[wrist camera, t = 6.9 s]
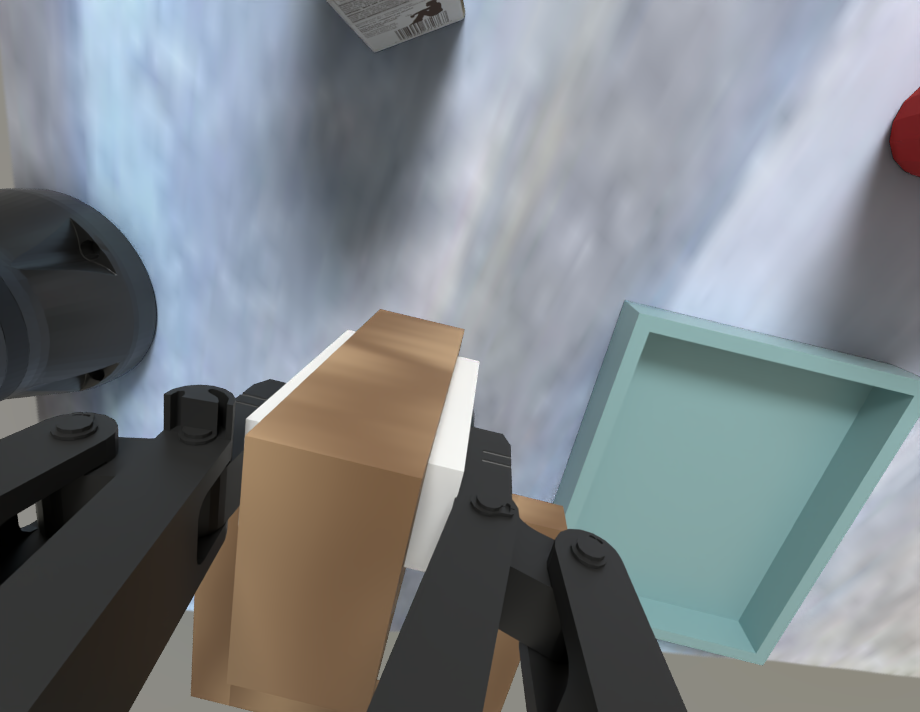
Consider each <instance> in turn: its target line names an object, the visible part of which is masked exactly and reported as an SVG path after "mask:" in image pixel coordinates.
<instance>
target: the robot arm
mask: <svg viewBox="0 0 920 712" xmlns="http://www.w3.org/2000/svg"><path fill="white" fill-rule="evenodd" d="M155 325H156V304H155V297H154V292H153V288H152V285H151V282H150V279H149V276H148V274H147V271H146V269H145V267H144V265H143V263H142V261H141V259H140V257H139V256H138V254H137V252H136V251H135V249H134V248H133V246H132V245H131V244H130V242H129V241H128V240H127V238H126V237H125V236H124V235H123V234H122V233H121V232H120V230H119V229H118V228H117V227H116V226H115V225H114V224H113V223H111V222H110V221H109V220H108V219H107V218H106V217H104V216H103V215H102V214H101V213H99V212H98V211H96V210H95V209H94V208H92V207H90V206H89V205H87V204H85V203H84V202H82V201H80V200H78V199H75V198H73V197H71V196H68V195H65V194H63V193H59V192H55V191H50V190H44V189H0V401H2V400H4V399H11V398H21V397H30V396H40V395H49V394H59V393H68V392H77V391H83V390H87V389H91V388H95V387H98V386H100V385H102V384H105V383H107V382H109V381H111V380H113V379H115V378H118V377H120V376H122V375H124V374H125V373H127V372H129V371H130V370H132V369H133V368H134V367H135V366H136V365H137V364H138V363H139V362H140V361H141V360H142V359H143V357H144V356H145V354H146V353H147V351H148V349H149V347H150V345H151V342H152V339H153V336H154V332H155ZM354 333H355V331H351V330H347V331H346V332H345V333H344V334H342V335H341V336H340V337H339V338H338V339H337V340H336V341H334V342H333V343H332V344H331V345H330V346H329V347H327V348H326V349H325V350H324V351H323V352H322V353H321V354H319V355H318V356H317V357H316V358H315V359H314V360H313V361H311V362H310V363H309V364H308V365H307V366H306V367H305V368H303V369H302V370H301V371H300V372H299V373H298V374H297V375H295V376H294V377H293V378H292V379H291V380H290V381H289V382H287V383H284V382H280V381H276V380H272V379H269V380H266V381H263V382H260V383H257V384H254V385H252V386H251V387H250V388H248V389H247V390H246V391H245V392H243V394H242V395H239V396H238V397H237V398H235V397H234V395H233V394H232V393H231V392H229V391H227V390H226V389H223V388H219V387H216V386H209V385H190V386H183V387H179V388H175V389H172V390H170V391H169V392H167V393H165V394H164V430H163V431H162V432H161V433H160V434H159V435H158V436H157V437H156V438H155V439H147V438H125V437H118V425H117V423H116V422H115V420H114V419H112V418H110V417H108V416H106V415H101V414H96V413H88V412H85V413H83V412H77V413H72V414H66V415H60V416H57V417H54V418H50V419H47V420H44V421H42V422H40V423H37V424H35V425H33V426H30V427H28V428H26V429H24V430H21V431H19V432H16V433H14V434H12V435H9V436H7V437H5V438H3V439H0V712H129V710H130V708H131V707H132V705H133V703H134V701H135V699H136V698H137V696H138V694H139V692H140V691H141V689H142V687H143V685H144V683H145V681H146V680H147V678H148V676H149V674H150V673H151V671H152V669H153V667H154V666H155V664H156V662H157V660H158V658H159V657H160V655H161V653H162V651H163V650H164V648H165V646H166V644H167V642H168V641H169V639H170V637H171V635H172V633H173V632H174V630H175V628H176V626H177V625H178V623H179V621H180V619H181V618H182V616H183V614H184V612H185V610H186V609H187V607H188V605H189V603H190V602H191V600H192V598H193V596H194V594H195V593H196V591H197V589H198V587H199V586H200V584H201V582H202V580H203V578H204V577H205V575H206V573H207V571H208V570H209V568H210V566H211V564H212V562H213V561H214V559H215V557H216V555H217V553H218V552H219V550H220V548H221V546H222V545H223V543H224V541H225V538H226V534H227V527H228V519H229V518H230V517H231V516H232V514H233V513H234V512H235V511H236V510H237V508H238V507H239V511H240V497H241V483H242V470H243V456H244V443H245V435H246V434H247V433H248V432H249V431H250V430H251V429H253V428H254V427H255V426H256V425H257V424H258V423H259V422H260V421H261V420H262V419H263V418H264V417H265V416H266V415H268V414H269V413H270V412H271V411H272V410H273V409H274V408H275V407H276V406H277V405H278V404H279V403H280V402H281V401H283V400H284V399H285V398H286V397H287V396H288V395H289V394H290V393H291V392H292V391H293V390H294V389H295V388H296V387H297V386H299V385H300V384H301V383H302V382H303V381H304V380H305V379H306V378H307V377H308V376H309V375H310V374H311V373H312V372H314V371H315V370H316V369H317V368H318V367H319V366H320V365H321V364H322V363H323V362H324V361H325V360H326V359H327V358H329V357H330V356H331V355H332V354H333V353H334V352H335V351H336V350H337V349H338V348H339V347H340V346H341V345H342V344H343V343H345V342H346V341H347V340H348V339H349V338H350V337H351V336H352V335H353V334H354ZM479 362H480V361H475V360H471V359H467V358H463V357H459V356H458V357H457V361H456V365H455V368H454V372H453V375H452V379H451V383H450V386H449V390H448V393H447V397H446V401H445V404H444V408H443V411H442V415H441V419H440V422H439V426H438V429H437V433H436V437H435V440H434V444H433V447H432V451H431V455H430V458H429V462H428V466H427V470H426V474H425V479H424V483H423V487H422V491H421V496H420V500H419V504H418V509H417V513H416V517H415V521H414V526H413V530H412V534H411V539H410V543H409V547H408V551H407V556H406V560H405V564H404V567H406V568H410V569H414V570H418V571H422V572H425V574H424V576H423V578H422V581H421V583H420V586H419V588H418V590H417V593H416V595H415V597H414V600H413V602H412V605H411V607H410V609H409V612H408V614H407V616H406V619H405V621H404V624H403V626H402V628H401V631H400V633H399V636H398V638H397V640H396V643H395V645H394V647H393V650H392V652H391V655H390V657H389V660H388V662H387V664H386V666H385V669H384V671H383V673H382V676H381V678H380V681H379V683H378V685H377V688H376V690H375V692H374V695H373V697H372V700H371V702H370V704H369V707H368V709H367V711H366V712H483V708H484V702H485V697H486V692H487V686H488V681H489V676H490V670H491V665H492V660H493V654H494V649H495V644H496V638H497V633H498V629H499V630H501V631H502V632H504V633H506V634H508V635H509V636H511V637H513V638H514V639H516V640H518V641H519V653H520V661H521V669H522V677H523V684H524V693H525V700H526V709H527V712H687V710H686V707H685V705H684V703H683V700H682V698H681V696H680V693H679V691H678V689H677V686H676V684H675V682H674V679H673V677H672V675H671V672H670V670H669V668H668V665H667V663H666V661H665V659H664V656H663V654H662V651H661V649H660V647H659V645H658V642H657V640H656V638H655V635H654V633H653V631H652V628H651V626H650V624H649V621H648V619H647V617H646V614H645V612H644V610H643V607H642V605H641V603H640V600H639V598H638V596H637V593H636V591H635V589H634V586H633V584H632V582H631V579H630V577H629V575H628V573H627V570H626V568H625V566H624V563H623V561H622V559H621V557H620V556H619V554H618V553H617V551H616V550H615V549H614V548H613V547H612V546H611V545H610V544H609V543H608V542H607V541H605V540H604V539H602V538H600V537H599V536H597V535H595V534H593V533H590V532H587V531H584V530H581V529H567V530H564V531H561V532H560V533H559V534H558V535H557V537H556V538H555V540H554V539H552V538H550V537H548V536H546V535H544V534H542V533H540V532H538V531H536V530H534V529H533V528H531V527H530V526H528V525H527V524H526V523H525V522H523V521H522V520H521V518H520V517H519V508H518V507H517V505H516V504H515V502H514V501H513V500H512V476H511V459H510V458H511V445H510V444H509V443H508V441H507V440H506V438H505V437H504V435H503V434H500V433H496V432H491V431H487V430H483V429H479V428H475V427H471V426H470V425H471V418H472V411H473V404H474V397H475V390H476V383H477V376H478V369H479ZM33 504H36V513H37V520H36V521H35V522H33V523H31V524H30V525H27V526H25V527H22V528H20V527H19V524H18V516H17V514H18V513H19V512H21V511H23V510H25V509H26V508H28V507H30V506H31V505H33ZM238 524H239V520H238Z"/></svg>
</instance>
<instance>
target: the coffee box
mask: <svg viewBox="0 0 920 712" xmlns="http://www.w3.org/2000/svg"><path fill="white" fill-rule="evenodd" d="M326 1H327V2H328V3H329V4H330V5H331V6H332V8H333V9H334V10H335V11H336V12H337V13H338V14H339V15H340V16H341V18H342V19H343V20H344V21H345V22H346V23H347V24H348V25H349V26H350V27H351V29H352V30H353V31H354V32H355V33H356V34H357V35H358V36H359V37H360V38H361V39H362V41H363V42H365V44H366V45H367V46H368V47H369V48H370V49H371V50H372V51H373V52H378V51H381V50H383V49H386V48H389V47H392V46H394V45H397V44H400V43H402V42H405V41H408V40H410V39H413V38H415V37H418V36H421V35H423V34H426V33H429V32H431V31H434V30H437V29H439V28H442V27H444V26H447V25H450V24H452V23H455V22H458V21H460V20H462V19H464V17H465V8H464V3H463V0H326Z"/></svg>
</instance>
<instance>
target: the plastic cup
mask: <svg viewBox="0 0 920 712" xmlns="http://www.w3.org/2000/svg"><path fill="white" fill-rule="evenodd" d="M889 142H890V147H891V151H892V155H893V159H894V160H895V161H896V162H897V163H898V164H899V166H900V167H901V168H902V169H903V170H904V171H905V172H908V173H910V174H912V175H915V176H918V177H920V87H919V88H918V89H917V90H916V91H915V92H914V93H913V94H912V95H911V96H910V97H909V98H908V99H907V100H905V101H904V103H903V105H902V107H901V108H900V110H899V112H898V114H897V115H896V117H895V119H894V121H893V124H892V130H891V135H890V141H889Z"/></svg>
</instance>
